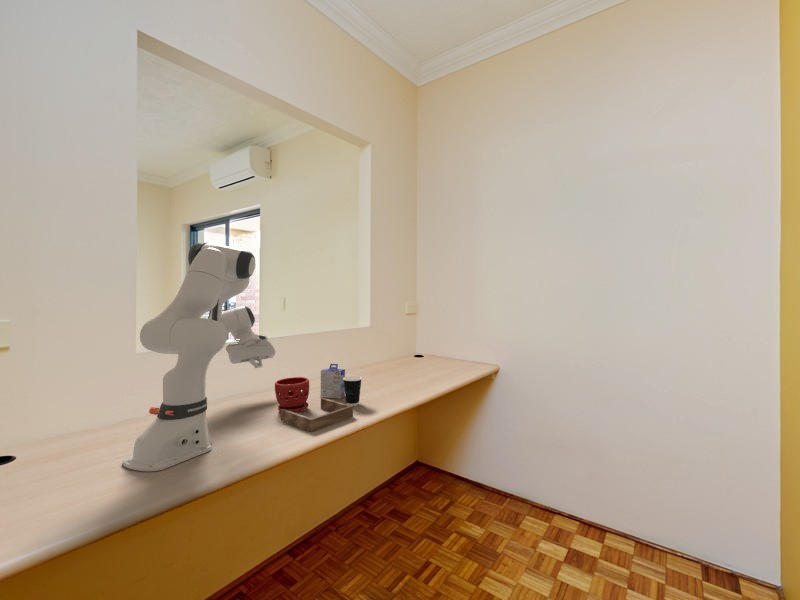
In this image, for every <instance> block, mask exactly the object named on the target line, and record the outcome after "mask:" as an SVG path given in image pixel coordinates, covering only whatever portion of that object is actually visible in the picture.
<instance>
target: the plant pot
mask: <svg viewBox="0 0 800 600" xmlns="http://www.w3.org/2000/svg"><path fill="white" fill-rule="evenodd" d="M274 393H275V399H276V401H277V403H278V406H277V410H278V411H279V412H280V413H281V410H282V409H286V410H289V411H292V412H294V413H297V414H299V413H301V412H303V411H305V410H307V409H308V407H309V403H308V398H309V394H310V380H309V378H308V377H304V376H296V377H295V376H293V377H287V378H285V377H284V378H281V379H278V380H276V381H275V382H274Z"/></svg>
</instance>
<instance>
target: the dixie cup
mask: <svg viewBox="0 0 800 600" xmlns="http://www.w3.org/2000/svg"><path fill="white" fill-rule="evenodd" d="M343 380H344V387H345V396H344V397H345V402H346V403H345V404H347V405H350V406H353V407H356V406H358V405H359V402H360V398H361V389H362V388H361V387H362V380H363V377H362V376H358V375H348V376H345V377H344V378H343Z"/></svg>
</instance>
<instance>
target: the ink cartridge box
mask: <svg viewBox="0 0 800 600" xmlns="http://www.w3.org/2000/svg"><path fill="white" fill-rule="evenodd" d="M338 365H339V364H338V363H330V365H329V368H324V369H321V370H320V396H319V398H325V399H338V400H339V399H342V398H344V397H345V387H344V380H343V378H344V377H346V369H345V368H338Z"/></svg>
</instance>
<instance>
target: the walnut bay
mask: <svg viewBox="0 0 800 600" xmlns="http://www.w3.org/2000/svg"><path fill="white" fill-rule="evenodd" d="M320 409H322V410H325V411H327V413H324V414H321V415H318V416H315V417H313V418H311V417H309V416H306V415H302V414H300V413H294V412H292V411H289V410H286V409H282V410H281V412H280V413H281V414H280V416H281V417H280V421H281V422H284V423H286V424H289V425H291V426H295V427H297V428H300V429H303V430H305V431H307V432H310V433H313V432H315V431H317V430H321V429H324V428H326V427H329V426H332V425H334V424H337V423H340V422H342V421H345V420H348V419H351V418H353V417H354V406H350V405H347V403H343V402H339V401H336V400H333V399H330V398H323V397H320Z"/></svg>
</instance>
